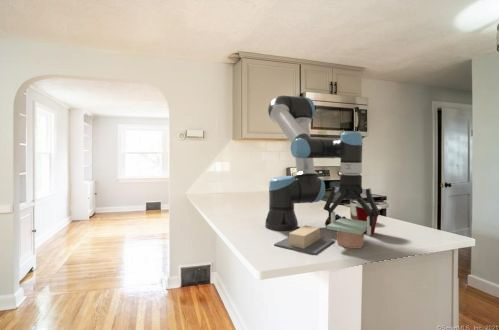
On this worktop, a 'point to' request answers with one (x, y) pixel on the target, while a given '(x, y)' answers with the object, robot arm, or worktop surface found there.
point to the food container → (353, 209)
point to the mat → (308, 249)
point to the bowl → (350, 239)
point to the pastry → (335, 219)
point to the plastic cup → (365, 215)
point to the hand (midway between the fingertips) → (350, 231)
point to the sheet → (348, 226)
